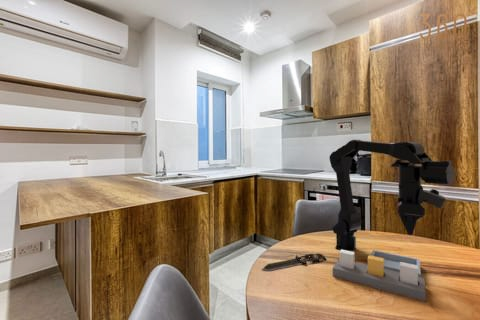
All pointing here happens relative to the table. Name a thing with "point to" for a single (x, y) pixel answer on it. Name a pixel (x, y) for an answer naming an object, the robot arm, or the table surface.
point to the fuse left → (347, 259)
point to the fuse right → (409, 273)
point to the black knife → (293, 262)
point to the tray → (396, 261)
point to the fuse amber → (376, 265)
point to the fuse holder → (381, 280)
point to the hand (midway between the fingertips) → (409, 230)
